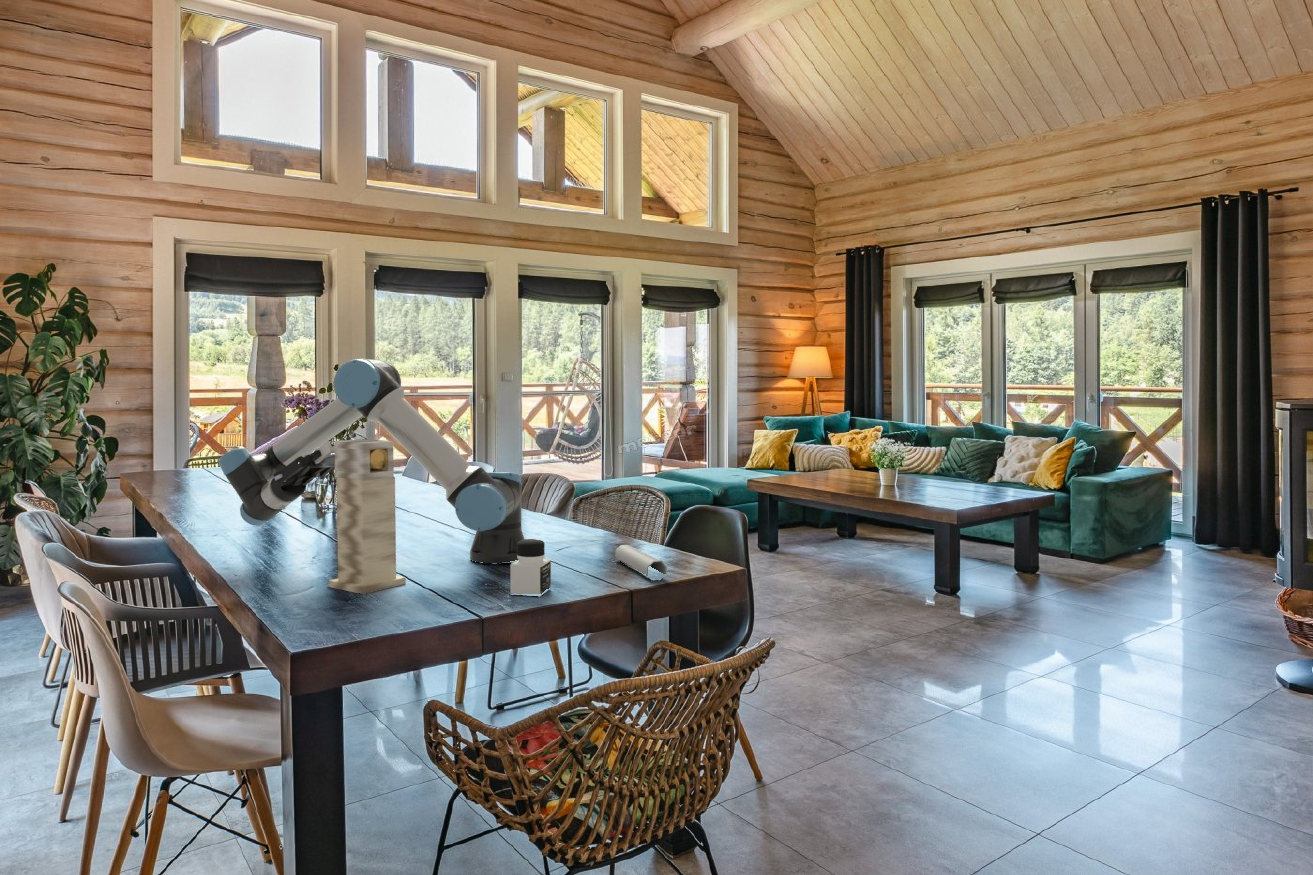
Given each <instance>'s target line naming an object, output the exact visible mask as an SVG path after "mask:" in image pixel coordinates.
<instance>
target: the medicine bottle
mask: <svg viewBox="0 0 1313 875" xmlns="http://www.w3.org/2000/svg"><path fill="white" fill-rule="evenodd" d="M545 554H546V553H545V542H544V541H543V540H542V539H539V538H524V539H523V540H521V541H519V542H518V543H517V558H518V559H519V560H517V561H516V562H514V563H511V564H509V565H510V568H509V569H510V594H511V593H516V594H542V593H543V592H544V591H545V590H546V589H549V588H550V587H551V586H552V585H551V583H552V580H551V578H552V577H551V576H552V575H551V574H552V570H551V569H552V562H551V561H552V559H549V558H545Z"/></svg>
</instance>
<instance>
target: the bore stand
mask: <svg viewBox="0 0 1313 875" xmlns="http://www.w3.org/2000/svg"><path fill="white" fill-rule="evenodd" d="M334 445H335V467H334V478H336V524H337V526H336V528H337V530H336V532H337V533H336V534H337V536H336V537H337V578H333V579H328V583H327V584H328V588H331V589H337V590H340V591H341V590H342V591H345V592H346V591H347V592H350V593H356V594H359V593H360V595H366V593H367V594H371V593H375V592H378V590H379V591H381V590H382V589H383V590H387V589H390V588H394V587H397V586H402V585H406V584H407V583H406V582H407V579H406V578H407V577H405V576H401V575H397V555H396V554H397V547H396V546H397V544H396V543H397V539H396V536H397V535H396V531H397V530H396V528H397V526H396V477H395V476H394V473H395V472H394V470H395V469H394V440H380V439H366V438H364V439H363V438H361V439H359V438H358V439H348V440H345V439H344V441H340V440H335V441H334ZM373 449H383V450H385V451H386V452H387V454H388V457H389V460H388V464H387V465H386V467H384V468H381V469H370V450H373ZM374 591H375V592H374ZM370 592H371V593H370Z"/></svg>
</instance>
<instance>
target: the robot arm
mask: <svg viewBox="0 0 1313 875" xmlns="http://www.w3.org/2000/svg"><path fill="white" fill-rule="evenodd" d="M333 389H334V392H335V396H336V398H335V399H334V400H332V401H331V402H329V404H327V405H325V406H324V407H323V408H322V409H320V410H318V411H317V412H316V413H315V414H313V415H312V416H311V417H309V418H308V419H307V420H305V421H303V422H302V423H301V424H300V425H299V426H297V427H296V428H294V429H292V430H291V431H290V432H289V433H287V434H286V435H285V436H283V437H282V438H280V439H279V440H277V441H276V442H275V443H274V444H272V445H270V447H268V448H267V449H266V450H264V451H263V452H261V453H256V454H251V452H250V451H248V449H247V448H246V447H244V446H238V447H236V448H233V449H230V450H229V451H227V452H225V453H224V454H223V455H221V457H220V458H218V461H217V462H218V465H219V467H220V469H221V470H222V473H223V475H224V476H225V477H226V479H227V480H228V483H229V484H230V485H231V486H232V488H233V489H234V491H235V493H236V494H237V496H238V497H239V499H240V501H241V502H242V504H241V505H240V506H239V513H240V517H241V518H242V520H243V521H244V522H246V523H247V524H249V525H251V526H255V527H257V526H263V525H265V524H266V523H267V522H268V521H270V520H272V519H273V518H275V516H277V515H278V514H279V513H280V512H282V511H283V510H286V507H288V506H289V505H290V504H291V503H293V502H294V501H295V500H297V499H298V498H299V497H301V496H302V495H303V494H305V492H306V489H307V485H308V484H309V483H311V482H312V481H313V480H314V479H316V478H318V479H319V480H324V479H325V478H326V476H327V475H328V474H329V473H330V472H331V471H332V470H333V469H335V467H320V468H313V467H315V465H314V461H315V464H318V463H320V462H321V461H322V460H323V459H324V458H326V457H327V456H328V455H329V454H334V453H335V444H334V445H333V446H332V444H331V441H330V440H331V439H333V438H334V437H336V435H338V434H340V433H341V432H343V431H344V430H345V429H347V428H348V427H350V426H351V425H352V424H354V423H355V422H356V421H358V420H359V419H360V418H362V417H364V419H366V421H368V422H376V423H377V422H378V423H379V424H380V425H381V426H382V427H383V429H385V431H386V432H388V434H390V436H392V437H393V439H395V440H396V442H398V443H399V445H400V446H402V448H403V449H404V450H405V451H406V452H407V453H408V454H409V455H411V456H412V458H413V459H414V460H415V461H416V462H417V463H418V464H419V465H420V466H421V467H422V468H423V469H424V470H425V471H426V472H427V473H428V474H429V475H430V476H431V477H432V478H433V479H434V480H435V481H436V482H437V483H438V484H439V486H441V487H442V488H443V489H444V490H445V491H446V493H445V495H446V496H445V498H446V502H448V503H449V504H450V505H451V506H452V507H453V508H454V509H455V515H456V517H457V519H458V520H459V522H460V523H461V524H462V525H463V526H465V527H466V528H467V529H470V530H472V531H475V534H474V538H473V541H472V544H471V546H470V547H471V548H470V551H469V560H470V559H471V560H473V561H476V562H483V563H502V562H510V561H515V560H519V559H518V558H517V543H518V542H519V541H521V540H523V539H525V537H524V533H523V531H522V487H523V483H522V477H521V475H520V474H519V473H518V472H502V471H501V472H497V471H494V472H493V471H486V470H485V469H484V468H483V467H482V466H478V465H477V466H475V465H472V464H470V462H468V460H467V459H465V458H464V456H462V454H460V453H459V452H458V450H456V449H455V448H454V447H453V446H452V445H451V444H450V442H448V440H447V439H446V438H444V437H443V436H442V435H441V434H440V433H439V431H437V429H435V427H433V425H432V424H430V422H428V421H427V419H425V418H424V416H423V415H422V414H420V412H419V411H418V410H417V409H416V408H415V407H414V406H413V405H412V404H411V403H410V402H408V400H407V399H405V389H404V387H403V386H402V378H401V374H400V373H399V371H398V369H396V367H395V366H394V365H393V364H391V363H390V362H388V361H386V360H382V359H368V358H359V357H358V358H355V359H350V360H348V361H346V362H345V363H343V364H341V365H340V367H338V369H337V370H336V373H335V375H334V379H333ZM339 441H345V439H341V440H339ZM305 455H306V456H305ZM304 456H305V457H304ZM303 457H304V458H303ZM471 560H470V561H471ZM473 561H472V562H473ZM476 562H475V563H476Z"/></svg>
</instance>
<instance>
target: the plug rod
mask: <svg viewBox="0 0 1313 875" xmlns="http://www.w3.org/2000/svg"><path fill="white" fill-rule="evenodd" d="M305 456H306V455H305ZM305 456H304V457H305ZM304 457H303V458H304ZM388 460H389V457H388V454H387V452H386V451H385V450H383V449H373V450H370V469H381V468H384V467H386V465H387V464H388ZM314 465H315V467H313V468H320V467H334V468H335V453H334V454H329V455H328V456H327V457H326V458H324V459H323V460H322V461H321V462H320V463H318V464H315V461H314Z"/></svg>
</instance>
